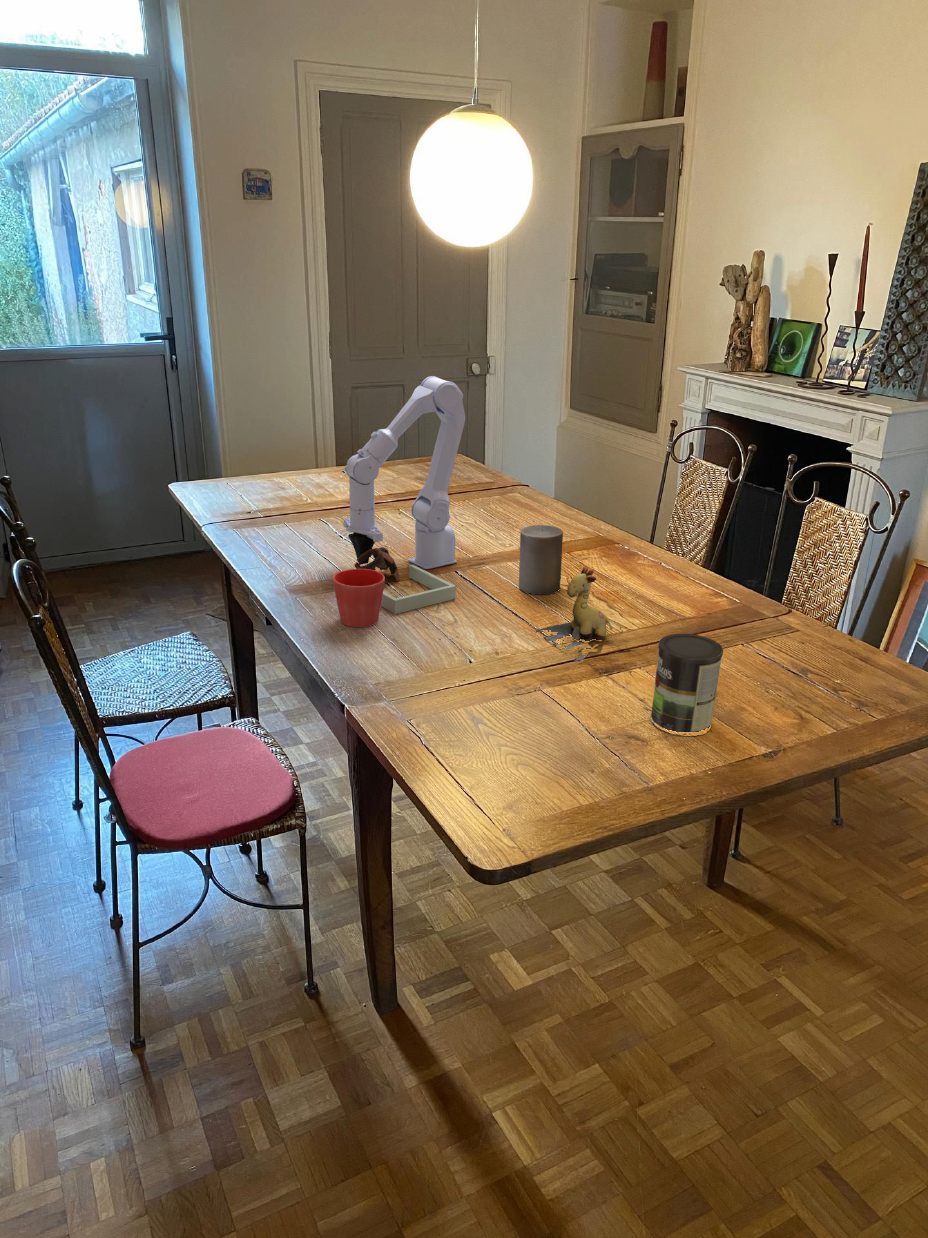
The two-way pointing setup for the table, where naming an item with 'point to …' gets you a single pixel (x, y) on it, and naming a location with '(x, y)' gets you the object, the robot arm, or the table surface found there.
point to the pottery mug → (378, 561)
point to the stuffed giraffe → (581, 615)
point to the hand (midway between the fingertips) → (363, 563)
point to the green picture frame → (438, 594)
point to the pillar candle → (540, 559)
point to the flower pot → (359, 596)
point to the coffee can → (686, 682)
